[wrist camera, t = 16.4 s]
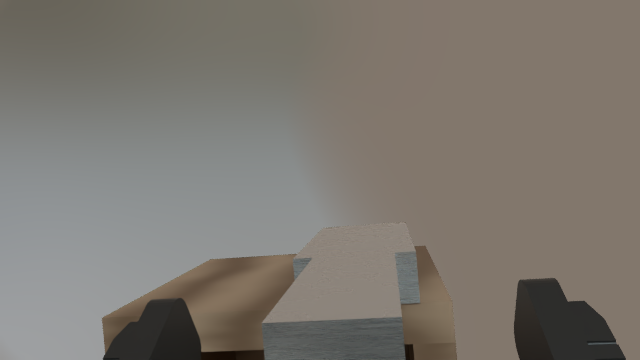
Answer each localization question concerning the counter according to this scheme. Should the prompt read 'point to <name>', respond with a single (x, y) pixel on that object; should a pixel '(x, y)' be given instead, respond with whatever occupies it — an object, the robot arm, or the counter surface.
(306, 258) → the gray brushed-metal block
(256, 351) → the tall wood-grain block
